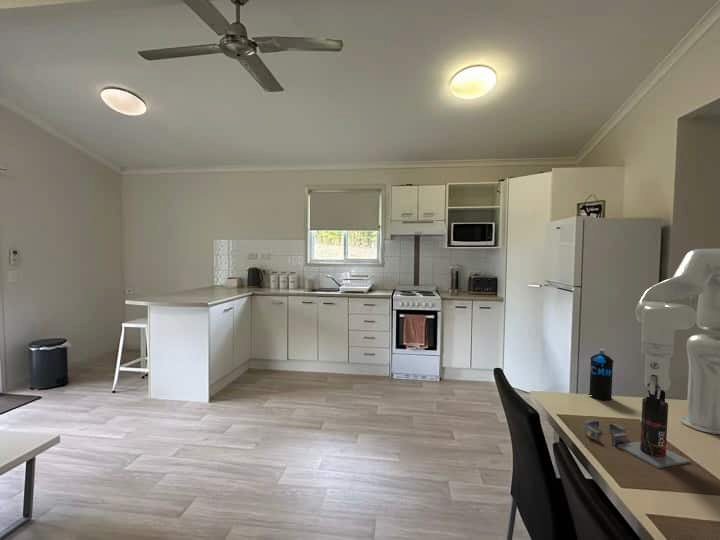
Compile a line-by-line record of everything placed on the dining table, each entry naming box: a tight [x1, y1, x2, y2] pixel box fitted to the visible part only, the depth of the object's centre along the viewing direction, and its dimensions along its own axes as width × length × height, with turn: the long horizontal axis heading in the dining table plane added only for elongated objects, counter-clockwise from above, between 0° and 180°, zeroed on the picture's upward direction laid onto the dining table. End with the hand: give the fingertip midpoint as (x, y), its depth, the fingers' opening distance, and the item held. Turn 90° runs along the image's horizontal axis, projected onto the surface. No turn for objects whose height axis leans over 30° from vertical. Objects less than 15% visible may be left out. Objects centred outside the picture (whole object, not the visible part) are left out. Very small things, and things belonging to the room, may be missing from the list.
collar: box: [584, 419, 628, 447], centre depth 120 cm, size 13×11×3 cm
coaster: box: [616, 441, 691, 469], centre depth 110 cm, size 12×12×1 cm
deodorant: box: [640, 397, 669, 458], centre depth 110 cm, size 6×6×15 cm
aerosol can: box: [588, 348, 615, 402], centre depth 155 cm, size 8×8×20 cm
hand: (655, 406), depth 110 cm, fingers open, 9 cm apart
